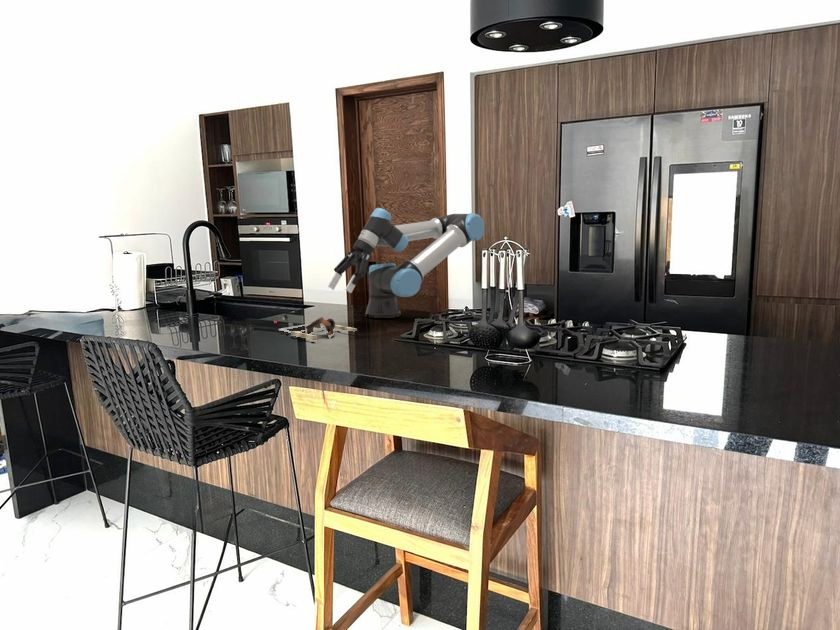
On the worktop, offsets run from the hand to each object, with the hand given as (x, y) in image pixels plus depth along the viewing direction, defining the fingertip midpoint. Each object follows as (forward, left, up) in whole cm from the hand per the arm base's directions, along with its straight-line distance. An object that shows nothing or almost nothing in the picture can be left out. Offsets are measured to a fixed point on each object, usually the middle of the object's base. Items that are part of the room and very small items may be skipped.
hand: (339, 289), depth 240 cm
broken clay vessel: (+13, +10, -16) cm, 23 cm away
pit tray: (+15, -3, -15) cm, 22 cm away
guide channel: (+13, +11, -15) cm, 23 cm away
